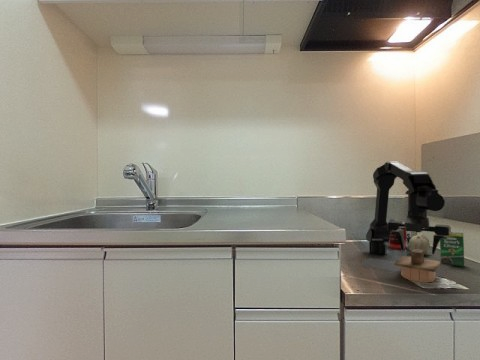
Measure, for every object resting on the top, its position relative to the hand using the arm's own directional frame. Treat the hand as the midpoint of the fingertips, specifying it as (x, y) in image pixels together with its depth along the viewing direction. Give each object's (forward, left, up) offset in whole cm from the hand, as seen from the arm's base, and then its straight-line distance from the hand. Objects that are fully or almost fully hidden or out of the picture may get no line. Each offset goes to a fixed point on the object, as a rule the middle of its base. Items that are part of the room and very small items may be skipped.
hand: (417, 252), depth 105 cm
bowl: (0, 0, -9) cm, 9 cm away
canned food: (-17, +44, -10) cm, 48 cm away
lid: (0, 0, -4) cm, 4 cm away
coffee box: (+7, +27, -10) cm, 30 cm away
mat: (-14, +8, -9) cm, 19 cm away
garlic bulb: (-6, +36, -10) cm, 38 cm away
